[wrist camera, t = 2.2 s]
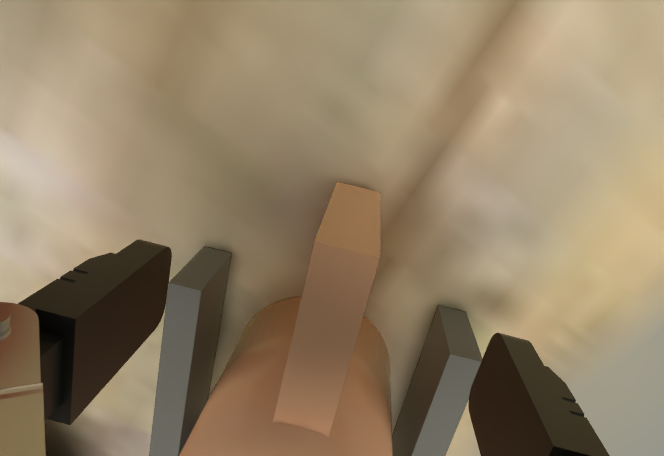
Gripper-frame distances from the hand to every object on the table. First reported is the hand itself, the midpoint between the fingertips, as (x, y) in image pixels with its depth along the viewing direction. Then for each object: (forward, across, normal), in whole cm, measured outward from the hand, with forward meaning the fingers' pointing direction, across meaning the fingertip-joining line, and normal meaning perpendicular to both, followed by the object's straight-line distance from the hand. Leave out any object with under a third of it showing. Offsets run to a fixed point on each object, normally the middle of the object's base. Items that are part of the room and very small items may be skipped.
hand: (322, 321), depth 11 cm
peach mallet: (+8, 0, +4) cm, 9 cm away
